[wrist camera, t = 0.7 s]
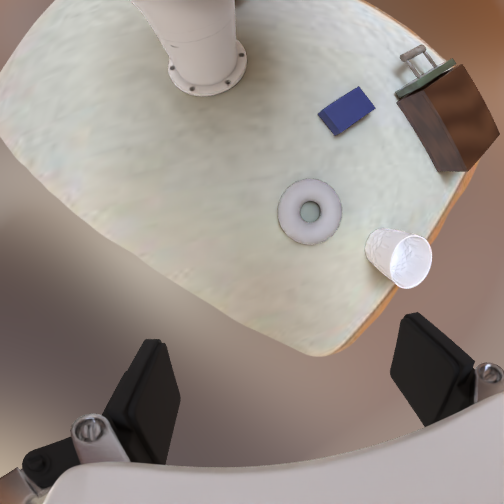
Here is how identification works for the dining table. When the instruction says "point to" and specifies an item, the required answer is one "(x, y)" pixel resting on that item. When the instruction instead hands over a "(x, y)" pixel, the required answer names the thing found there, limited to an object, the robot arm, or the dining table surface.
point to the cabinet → (451, 120)
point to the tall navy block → (346, 111)
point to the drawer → (426, 76)
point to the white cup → (399, 256)
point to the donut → (292, 206)
